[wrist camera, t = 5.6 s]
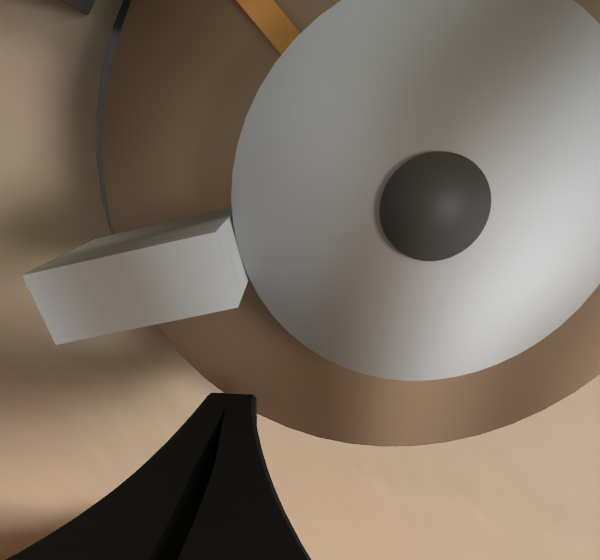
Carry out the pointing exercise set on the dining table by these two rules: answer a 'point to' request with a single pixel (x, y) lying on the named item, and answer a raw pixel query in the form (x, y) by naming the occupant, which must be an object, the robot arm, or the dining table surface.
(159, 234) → the turntable
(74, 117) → the dining table surface
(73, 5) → the dark grey small block
